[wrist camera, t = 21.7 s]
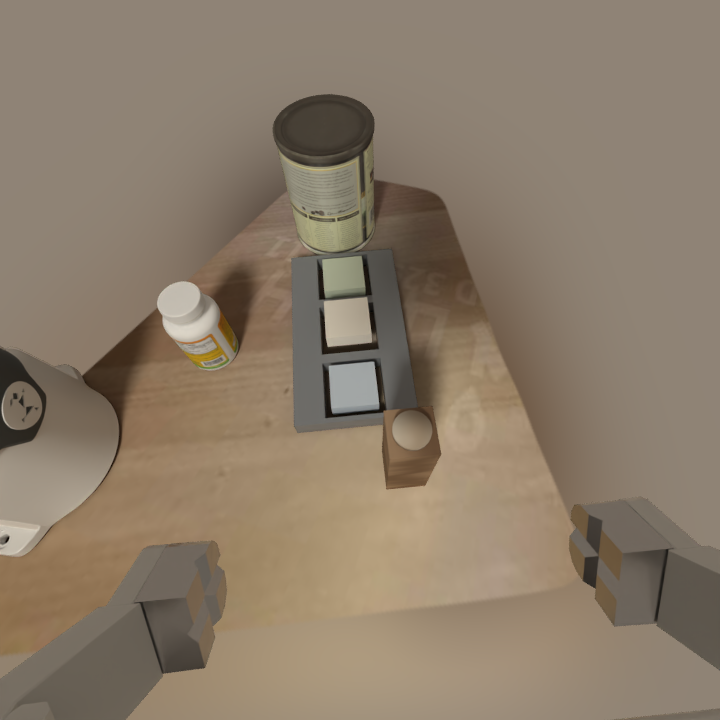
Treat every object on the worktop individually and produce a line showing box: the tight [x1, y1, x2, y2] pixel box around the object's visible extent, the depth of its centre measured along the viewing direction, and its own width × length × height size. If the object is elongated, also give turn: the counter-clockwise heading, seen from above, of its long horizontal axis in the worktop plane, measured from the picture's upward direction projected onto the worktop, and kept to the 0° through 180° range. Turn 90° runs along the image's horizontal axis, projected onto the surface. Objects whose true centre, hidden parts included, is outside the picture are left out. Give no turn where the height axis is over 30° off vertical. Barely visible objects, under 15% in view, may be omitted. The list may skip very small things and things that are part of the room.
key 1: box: [329, 362, 379, 415], centre depth 42 cm, size 5×5×2 cm
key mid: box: [324, 297, 372, 347], centre depth 44 cm, size 5×5×2 cm
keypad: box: [291, 249, 418, 433], centre depth 46 cm, size 12×21×2 cm, turn 5°
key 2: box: [322, 256, 366, 299], centre depth 48 cm, size 5×5×2 cm
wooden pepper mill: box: [382, 406, 441, 489], centre depth 34 cm, size 4×4×12 cm
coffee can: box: [273, 94, 375, 255], centre depth 48 cm, size 10×10×14 cm
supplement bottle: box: [157, 282, 238, 370], centre depth 42 cm, size 5×5×10 cm
